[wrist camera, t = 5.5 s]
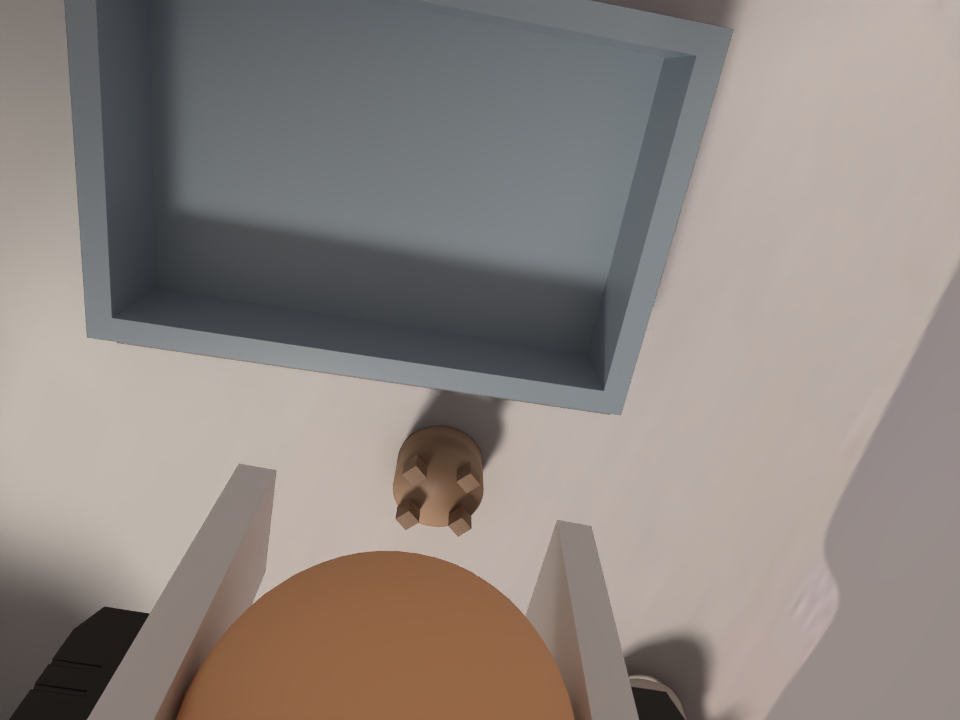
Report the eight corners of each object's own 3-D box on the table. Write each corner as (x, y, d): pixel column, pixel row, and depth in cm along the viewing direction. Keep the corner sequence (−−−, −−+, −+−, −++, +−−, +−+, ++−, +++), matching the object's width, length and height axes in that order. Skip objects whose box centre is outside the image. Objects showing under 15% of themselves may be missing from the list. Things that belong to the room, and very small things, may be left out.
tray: (139, 300, 30) (86, 337, 26) (127, -77, 25) (57, -109, 20) (600, 370, 32) (621, 415, 28) (690, 36, 27) (733, 29, 22)
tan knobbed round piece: (431, 511, 35) (428, 554, 32) (380, 455, 34) (371, 493, 31) (498, 471, 35) (502, 510, 31) (448, 410, 33) (447, 446, 30)
